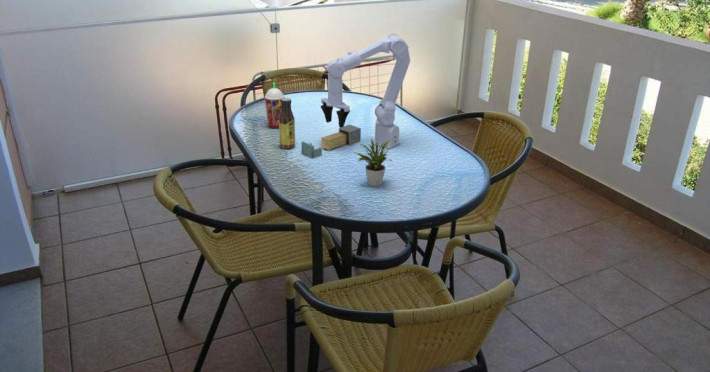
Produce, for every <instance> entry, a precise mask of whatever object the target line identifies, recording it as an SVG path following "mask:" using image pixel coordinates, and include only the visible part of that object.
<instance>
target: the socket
mask: <svg viewBox="0 0 710 372" xmlns="http://www.w3.org/2000/svg"><path fill="white" fill-rule="evenodd" d="M301 154H302V155H304V156H306V157H308V158H311V159H315V158H317V157H321V156H322V155H323V147H317V148H315V145H313V143H311V142H309V143H308V142H306V141H301Z"/></svg>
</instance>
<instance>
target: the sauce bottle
mask: <svg viewBox="0 0 710 372" xmlns="http://www.w3.org/2000/svg"><path fill="white" fill-rule="evenodd" d="M281 103H282V111H281V113H280V115H279V128H278V132H279V133H278V134H279V135H278V137H279V147H280V148H281V149H286V150H289V149H293V148H295V144H296V130H295V129H296V128H295V127H296V124H295V123H296V122H295V119H296V118H295V116H294V114H293V111H292V99H291V98H289V97H284V98H283V99H281Z"/></svg>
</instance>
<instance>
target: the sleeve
mask: <svg viewBox="0 0 710 372" xmlns="http://www.w3.org/2000/svg"><path fill="white" fill-rule="evenodd" d="M340 131H345V132H347V133H349V135H348V143H346V144H345V145H346V146H347V145H348V146H351V145H355V144H358V143H360V142H361V141H362V140H361V138H362V129H361V127H358V126H356V125H352V124H347V125H344V127H341V128H340V127H339V128H338V132H340Z"/></svg>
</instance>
